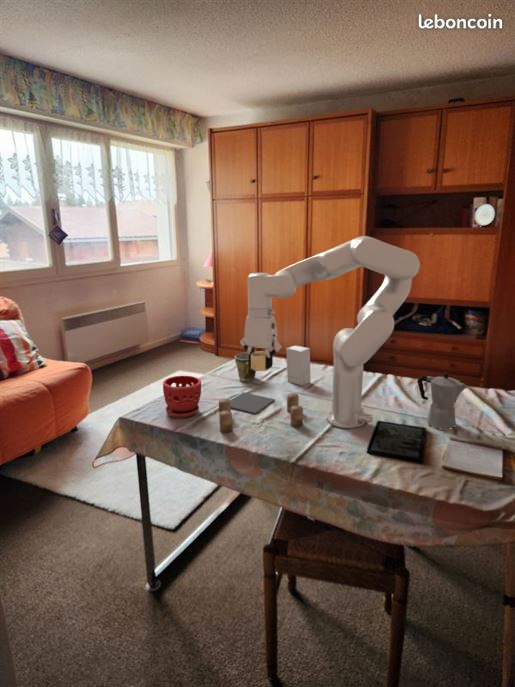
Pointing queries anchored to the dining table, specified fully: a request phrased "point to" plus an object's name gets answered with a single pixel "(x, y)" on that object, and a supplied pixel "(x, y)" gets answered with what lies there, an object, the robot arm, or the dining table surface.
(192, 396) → the plant pot
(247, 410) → the mat
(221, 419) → the cylinder
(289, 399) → the cylinder
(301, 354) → the skincare box
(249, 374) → the ceramic cup
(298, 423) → the cylinder
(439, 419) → the coffeepot
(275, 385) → the dining table surface
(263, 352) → the tan faceted block
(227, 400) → the cylinder
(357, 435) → the dining table surface
